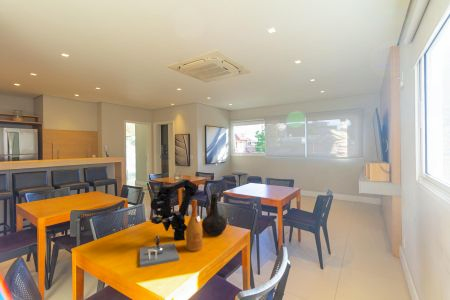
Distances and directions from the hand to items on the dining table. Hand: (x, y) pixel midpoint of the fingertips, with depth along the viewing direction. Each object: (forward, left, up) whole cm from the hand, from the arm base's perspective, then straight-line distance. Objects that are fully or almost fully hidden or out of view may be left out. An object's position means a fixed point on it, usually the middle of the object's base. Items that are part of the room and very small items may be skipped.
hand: (166, 230), depth 140 cm
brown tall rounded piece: (-15, +10, -9) cm, 21 cm away
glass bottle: (-34, -9, -10) cm, 37 cm away
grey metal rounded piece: (+8, +8, -7) cm, 14 cm away
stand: (+6, +11, -9) cm, 16 cm away
